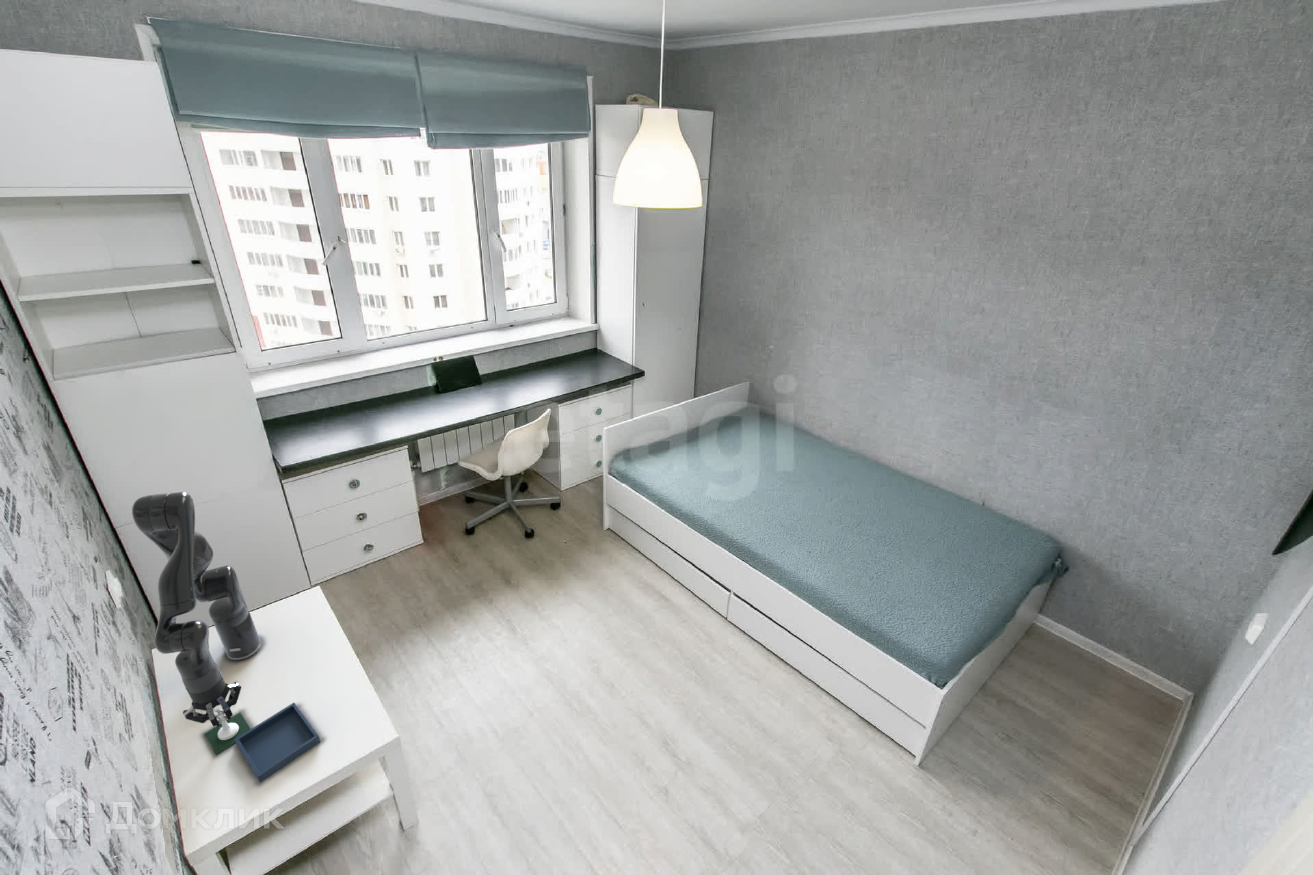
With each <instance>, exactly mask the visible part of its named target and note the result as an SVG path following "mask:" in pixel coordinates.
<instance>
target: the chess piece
mask: <svg viewBox="0 0 1313 875" xmlns="http://www.w3.org/2000/svg"><path fill="white" fill-rule="evenodd" d="M214 713H215V716H216V718H217V720H218V722H219V724H221V723H222V727H221V728H220V730H219V731H218V738H219V739H220V740H227V739H230V738H232V737H233V736H234V735H235V734H236V733H237V732H238V730H239V726H238V725H237V724H236V723H227V722H226V720H228V719H227V717H226V715H225V713H224V711H223V710H220V708H217V709H215V710H214Z"/></svg>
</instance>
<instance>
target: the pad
mask: <svg viewBox="0 0 1313 875" xmlns="http://www.w3.org/2000/svg"><path fill="white" fill-rule="evenodd" d="M226 722H227V723H236V724H237V725H238V726H239V730H238V732H237V733H236V734H235V735H234V736H233V737H232V738H230V739H227V740H220V739H219V738H218V731H219V730H220V728H221V727H222V723H219V724H220V726H218V727H217V726H215V727H214V726H213V728H211V729H209V730H208V731H205V733H203V734H204V736H205V738H206V740H207V741H208V743H209V745H210V747H211V748H212V750H213V752H214V754H215V756H218V755H219V754H221V753H222V752H224V751H225V750H227V749H229V748H230V747H232V746H234V745H236V742H235V740H234V739H236V738H237V737H239V736H241V735H242V734H244V733H245V732H247V731H249V730H250V729H251V727H250V725H249V723H248V722H247V720H246V719H245V717H244V716H243V714H242V713H241V712H238V713H236V714H235V715H233V716H231V719H230V720H228V719H227V720H226Z"/></svg>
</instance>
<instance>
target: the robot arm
mask: <svg viewBox="0 0 1313 875" xmlns="http://www.w3.org/2000/svg"><path fill="white" fill-rule="evenodd" d="M195 508H196V507H195V503H194V500H193V497H192V496H191V495H190V494H189V493H188V492H185V491H177V492H166V493H155V494H148V495H144V496H140V497H139V498H137V499H136V500H135V501H134V503H133V504H132V507H131V515H132V519H133V522H134V524H135V525H136V527H137V529H138V530H139V531H140V532H141V533H142V534H143V535H144V536H145V537H147V538H148V539H149V540H150V541H151V542H153V543H154V545H156V546H157V548H158V549H159V550H160V551H161V552H162V553H163V554H164V556H165V557H166V559H167V561H166V564H165V565H164V567H163V569H162V570H161V572H160V575H159V576H158V581H157V593H158V595H157V596H158V601H159V602H158V603H159V616H158V622H157V626H156V631H155V634H154V640H153V643H154V647H155V649H156V650H157V651H158V652H159V653H160V654H164V655H165V654H167V655H168V654H174V653H178V654H177V655H176V657H175V659H174V663H175V667H176V669H177V670H178V673H179V675H180V677H181V681H182V683H183V686H184V688H185V690H186V691H187V694H188V695H189V697H190V699H191V706H190V707H189V708H187V709H184V710H183V711H182V714H183V716H184V718H185V719H186V720H188V721H192V722H196V723H199V724H205V723H206V722H207V721H210V724H211V725H212V727H213V728H214V727H216V726H217V727H218V726H220V724H221V723H219V722H218V718H216V713H215V710H214V709H215V708H216V707H218V706H221V709H222V711H224V716H226V717H227V720H230V719H231V717H233V716H234V714H233V711H232V709H231V708H232V707H233V706H236V705H237V703H238V700H239V696H240V694H241V691H242V686H241V684H240V683H239V681H238V680H236V681H234V682H233V683H232V684H228V683H226V681H225V680H224V677H223V675H222V673H221V669H219V667H218V665H217V663H216V662H215V661H214V659H213V656H212V654H211V651H210V644H209V637H210V629H209V626H208V624H207V623H205V622H204V621H202V620H190V621H183V622H177V618H178V617H179V616H183V615H185V614H188V613H191V612H193V611H194V610H195V609H196V608H197V601H198V602H200V603H209V602H212V603H211V604H210V605H209V607H208V615H209V618H210V619H211V621H212V624H213V625H214V628H215V630H216V632H217V635H218V637H219V639H220V641H221V644H222V646H223V649H224V651H225V654H226V657H227V658H228V659H229V660H231V661H242V660H246V659H248V658H250V657H252V656H254V655H255V654H256V653H257V652H258V651H259V650H260V649H261V646H262V640H261V638H260V636H259V633H258V631H257V627H256V626H255V623H254V620H253V617H252V615H251V612H250V610H249V608H248V605H247V603H246V599H245V597H244V594H243V591H242V589H241V586H240V583H239V579H238V575H237V573H236V571H235V569H234V567H233V566H232V565H229V564H227V565H223V566H219V567H215V568H211V569H208V568H209V566H210V565H211V564H212V561H213V557H214V550H213V548H212V546H211V545H210V543H209V541H208V540H207V538H206V537H205V536H204V535H203V534H201V533H199V532H198V531H196V529H195V528H196V509H195ZM229 692H230V693H229ZM227 697H228V698H227ZM226 699H227V701H226ZM196 710H198V711H204V712H205V713H201V712H198V711H196Z"/></svg>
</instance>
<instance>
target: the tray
mask: <svg viewBox="0 0 1313 875" xmlns="http://www.w3.org/2000/svg"><path fill="white" fill-rule="evenodd" d="M234 740H235V742H236V743H235V745H236V746H237V748H238V749H239V751H240V752H241V754H242V756H243V758H244V759H245V761H246V762H247V764H248V766H249V767H250V769H251V771H252V773H253V774H254V775H255V777H256V778H257V780H258V782H259V783H262V782H264V781H265V780H266V779H268V778H269V777H271V776H272V775H274V774H275V773H276V772H278V771H280V770H281V769H283V768H284V767H285V766H286V765H289V763H291V762H293V761H294V760H296V759H297V758H298V757H300V756H302V755H303V754H305V753H306V752H307V751H309V750H311V749H312V748H313V747H315V746H316V745H318V744H319V743H320V742H321V739H320V736H319V734H318V733H317V731H316V730H315V728H313V726H312V724H311V723H310V722H309V720H308V719H307V718H306V716H305V715H304V714H303V712H302V711H301V710H300V708H299V707H298V706H297V704H296V703H295V702H292V703H291V704H289V705H287V706H285V707H283V709H281V710H279V711H278V712H276V713H274V714H273V715H272V716H270V717H268V718H266V719H265V720H263V721H261V722H260V723H259V724H256V725H255V726H253V727H252V728H250V730H249V731H247V732H245V733H244V734H242V735H241V736H239V737H237V738H236V739H234Z"/></svg>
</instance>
